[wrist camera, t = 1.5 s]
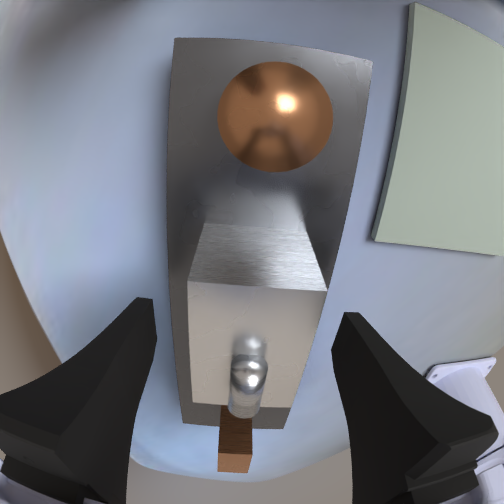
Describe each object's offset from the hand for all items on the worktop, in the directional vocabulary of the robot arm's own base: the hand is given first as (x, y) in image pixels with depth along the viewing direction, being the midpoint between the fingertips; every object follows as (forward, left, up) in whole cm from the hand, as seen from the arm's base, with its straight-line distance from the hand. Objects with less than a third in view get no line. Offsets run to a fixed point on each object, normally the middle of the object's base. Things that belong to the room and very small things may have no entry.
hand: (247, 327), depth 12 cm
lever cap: (0, 0, -3) cm, 3 cm away
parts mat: (+8, -11, -5) cm, 15 cm away
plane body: (-1, 0, -5) cm, 5 cm away
